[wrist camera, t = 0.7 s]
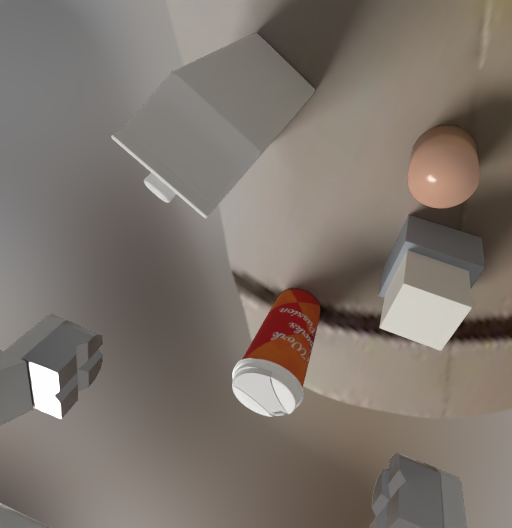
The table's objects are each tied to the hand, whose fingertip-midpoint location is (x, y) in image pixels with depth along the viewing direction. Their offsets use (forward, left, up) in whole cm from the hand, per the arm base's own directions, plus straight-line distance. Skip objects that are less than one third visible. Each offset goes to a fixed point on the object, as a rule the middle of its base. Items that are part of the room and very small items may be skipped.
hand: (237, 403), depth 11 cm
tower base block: (+14, +10, -33) cm, 37 cm away
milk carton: (+3, -10, -33) cm, 34 cm away
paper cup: (+27, -1, -33) cm, 42 cm away
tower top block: (+14, +10, -28) cm, 33 cm away
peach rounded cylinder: (+4, +7, -33) cm, 34 cm away
